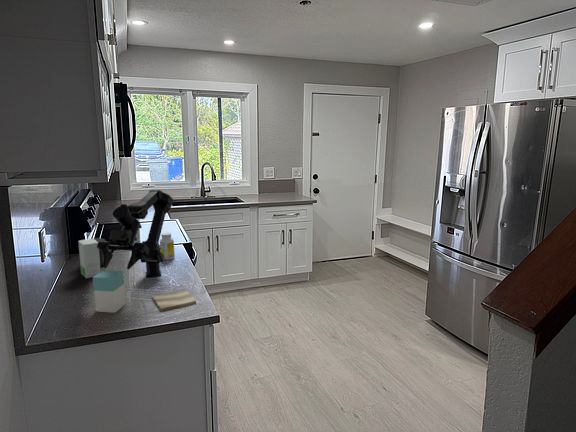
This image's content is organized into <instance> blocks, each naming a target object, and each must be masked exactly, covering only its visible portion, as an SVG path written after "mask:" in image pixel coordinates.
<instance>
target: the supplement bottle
mask: <svg viewBox="0 0 576 432" xmlns="http://www.w3.org/2000/svg"><path fill="white" fill-rule="evenodd" d="M160 237H161V238H160V239H159V245H160V248H161V250H160V251H161V253H162V254H163V255H164V260H167V261H169V260H173V259H174V258H176V257H175V256H176V255H175V242H174V239H173V238H172V233H170V232H163V233H162V232H161V234H160ZM164 260H163V261H164Z"/></svg>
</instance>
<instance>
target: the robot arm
mask: <svg viewBox="0 0 576 432" xmlns="http://www.w3.org/2000/svg"><path fill="white" fill-rule="evenodd" d="M173 204H174V199H173V198H172V196H171V195H170V194H168V193H166V192H163V191H162V190H160V189H150V190H149V191H148V193H147V194H146V195H144V196H143V197H142V198H140V200H139V201H137V202H133V203H130V204H129V205H127V204H125V203H121V205H120V206H118V207H116V208H115V209H114V210H113V212H112V217H114V219H115V220H116V221H117V223H118V224H119V225H120V226H122V229H121V230H111V231H110V235H109V240H112V241H113V242H114V244H112V243H111V242H110V241H107V240H105V241H100V242H98V244H97V248H98V249H99V250H100V251H101V252H102V253H103V261H104V266H103V268H104V269H107V267H108V266H109V264H110V262H111V260H112V258H113V256H114V252H115V251H123V252H124V251H127V252H128V251H129V252H131V256H130V258H129V260H128V263H127V266H126V269H127V270H130V269H131V268H132V267H133V266H134V265H135V264H137V262H139V261H140V263H142V264H143V263H145V268H146V269H145V278H153V277H160V276H162V270H161V268H160V266H161V265H160V263H163V262H164V255H163V254H162V253H161V248H160V239H161V234H162V229H163V225H164V223H165V222H164V221H165V217H166V214H167V213H169V211H170V210H171V209H172V205H173ZM151 207H152V208H153V209H154V212H153V213H154V214H153V216H152V221H151V224H150V228H149V231H148V235H147V239H146V240H145V241H143V240H142V242H137V240H138V237H137V234H138V231H139V229H142V228H143V227H142V224H141V222H140V221H139V220H144V219H145V218H146V217H147V215H148V214H149V211H148V210H149V209H150V208H151Z"/></svg>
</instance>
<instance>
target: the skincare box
mask: <svg viewBox="0 0 576 432" xmlns="http://www.w3.org/2000/svg"><path fill="white" fill-rule="evenodd" d="M97 244H98V242H97V241H96V240H94V238H88V239H81V240H78V251H79V252H78V253H79V262H80V264H79V265H80V274H81V275H82V276H83V277H84V278H85V279H90V278H93V277H94V276H95V275H97V274H99V273H100V272H101V267H100V257H99V249H98V248H97Z"/></svg>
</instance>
